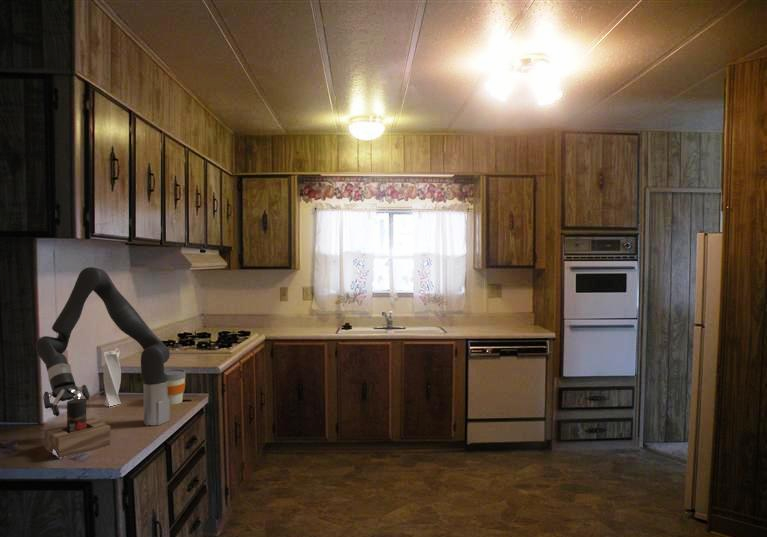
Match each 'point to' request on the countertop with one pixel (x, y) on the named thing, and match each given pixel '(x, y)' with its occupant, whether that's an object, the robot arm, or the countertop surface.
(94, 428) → the socket block
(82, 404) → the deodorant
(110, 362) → the skyscraper
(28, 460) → the countertop surface
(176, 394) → the reusable coffee cup
